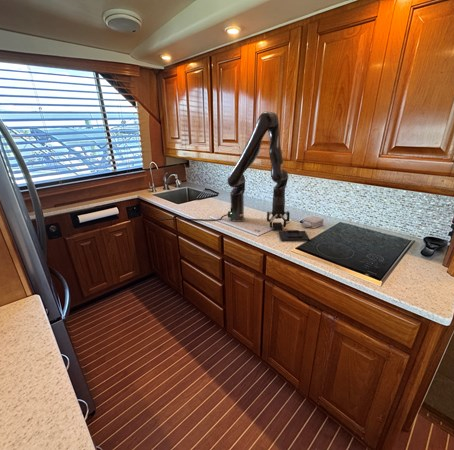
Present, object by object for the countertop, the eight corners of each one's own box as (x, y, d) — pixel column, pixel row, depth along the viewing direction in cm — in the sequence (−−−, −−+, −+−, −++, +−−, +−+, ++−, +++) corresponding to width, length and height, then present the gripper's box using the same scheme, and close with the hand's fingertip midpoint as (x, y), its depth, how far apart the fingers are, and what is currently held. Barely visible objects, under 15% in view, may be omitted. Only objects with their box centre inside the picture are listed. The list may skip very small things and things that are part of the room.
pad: (273, 230, 150) (273, 225, 149) (272, 227, 155) (272, 222, 154) (282, 230, 150) (282, 225, 149) (280, 227, 155) (281, 222, 154)
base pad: (281, 241, 136) (281, 237, 135) (278, 232, 147) (278, 229, 146) (309, 241, 135) (310, 237, 134) (304, 232, 146) (304, 229, 146)
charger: (297, 227, 155) (311, 221, 163) (308, 231, 148) (322, 225, 156) (297, 220, 153) (311, 215, 161) (309, 224, 146) (323, 218, 154)
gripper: (289, 200, 149) (287, 224, 155) (266, 201, 150) (265, 225, 156) (291, 204, 142) (289, 229, 148) (267, 204, 143) (267, 229, 149)
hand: (277, 227), depth 152 cm, fingers open, 8 cm apart
